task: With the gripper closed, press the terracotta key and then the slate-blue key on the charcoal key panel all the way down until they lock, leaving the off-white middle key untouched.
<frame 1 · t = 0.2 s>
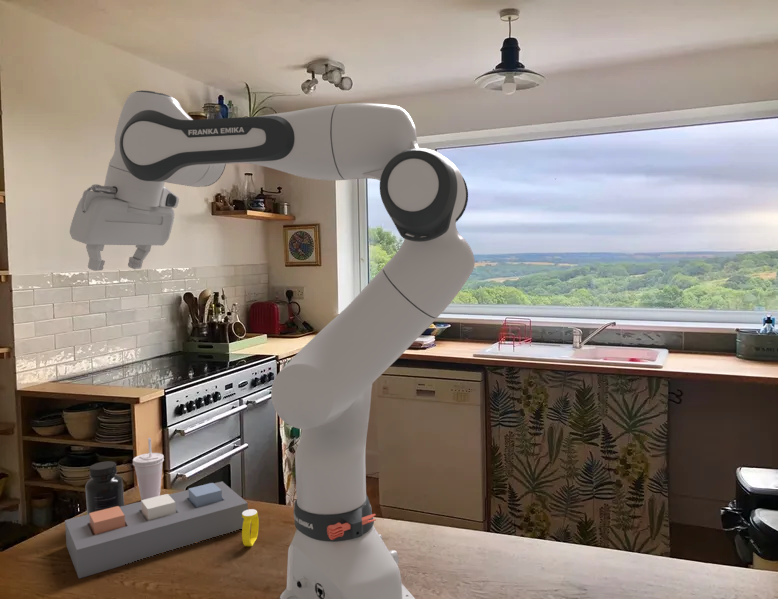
hand: (115, 268, 102), 52 cm above the countertop, tool tilted 20°, fingers open, 8 cm apart
key panel: (160, 536, 115), on the countertop
smoothie: (150, 501, 132), on the countertop
slate blue key: (205, 500, 119), point 5 cm above the countertop, slide at 0.0 cm
terracotta key: (107, 525, 109), point 5 cm above the countertop, slide at 0.0 cm
white key: (158, 512, 114), point 5 cm above the countertop, slide at 0.0 cm
supplement bottle: (106, 523, 121), on the countertop
watch: (251, 543, 112), on the countertop
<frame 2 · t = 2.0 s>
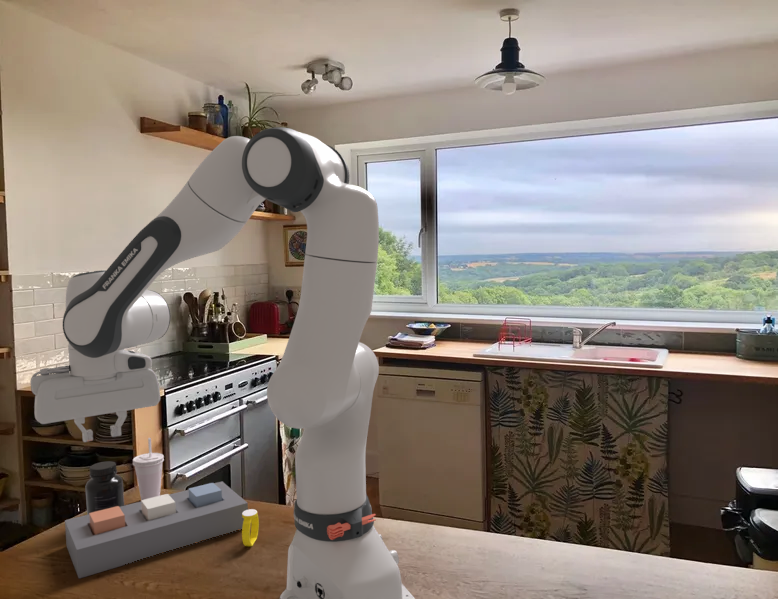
hand: (102, 438, 108), 21 cm above the countertop, tool pointing down, fingers open, 3 cm apart
nothing on the countertop moved.
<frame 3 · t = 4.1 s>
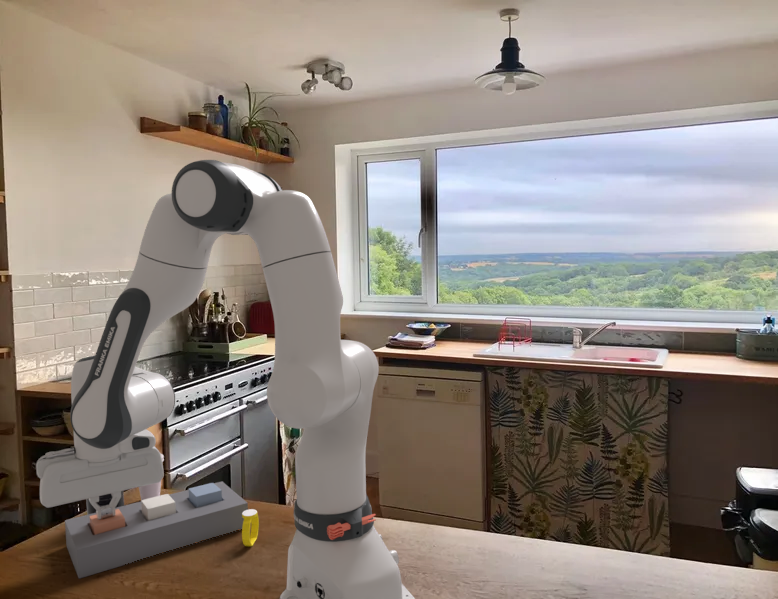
hand: (106, 516, 109), 6 cm above the countertop, tool pointing down, fingers closed, pressing on terracotta key
terracotta key: (107, 528, 109), point 4 cm above the countertop, slide at 0.6 cm, touching gripper
everything else where it was.
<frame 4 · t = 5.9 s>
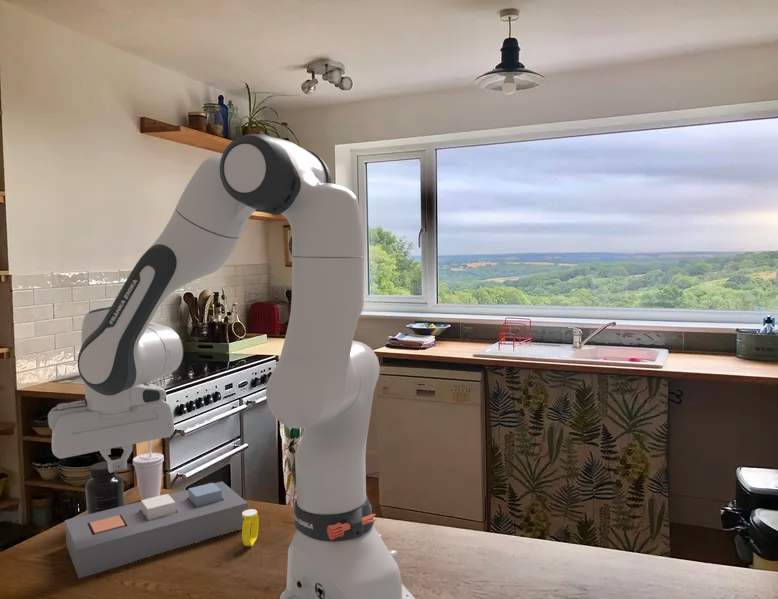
hand: (117, 470, 109), 15 cm above the countertop, tool pointing down, fingers closed
terracotta key: (108, 535, 109), point 3 cm above the countertop, slide at 1.8 cm
everything else where it was.
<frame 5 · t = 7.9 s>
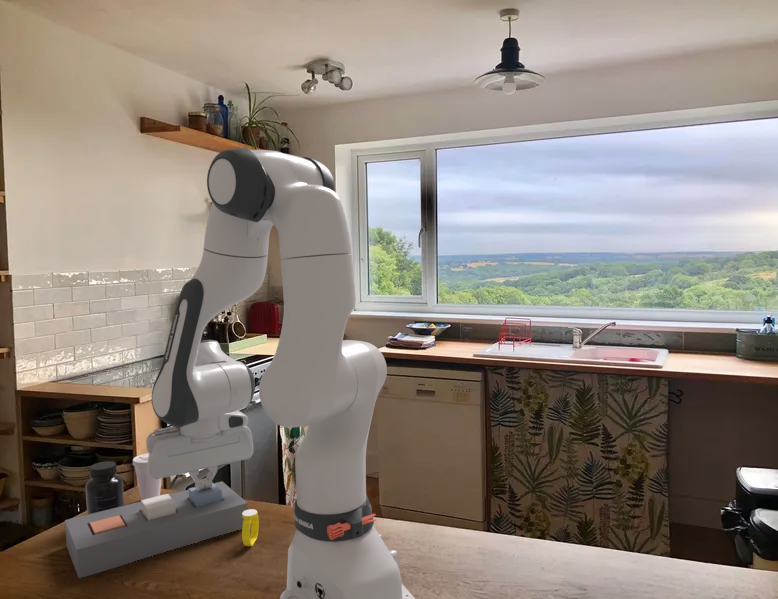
hand: (203, 489, 119), 7 cm above the countertop, tool pointing down, fingers closed, pressing on slate blue key
slate blue key: (205, 500, 119), point 5 cm above the countertop, slide at 0.0 cm, touching gripper
everything else where it was.
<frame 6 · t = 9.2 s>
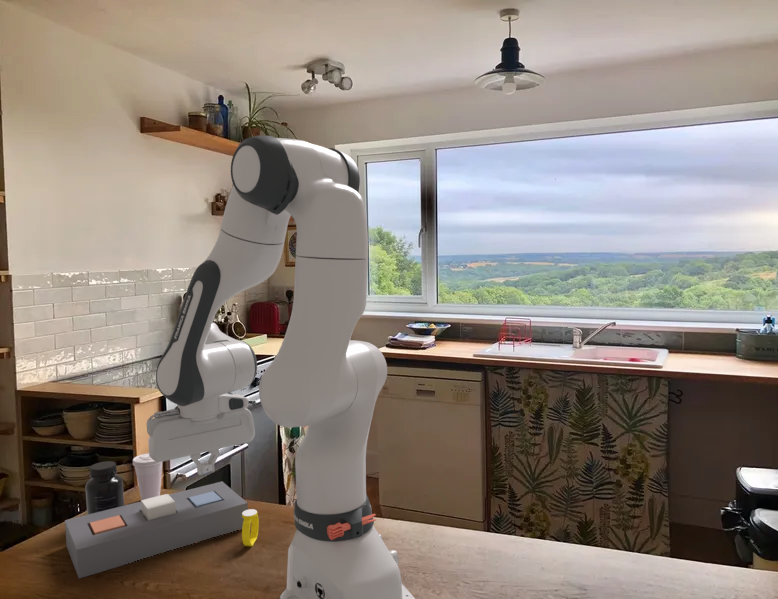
hand: (206, 473, 119), 11 cm above the countertop, tool pointing down, fingers closed
slate blue key: (205, 509, 120), point 3 cm above the countertop, slide at 1.8 cm
everything else where it was.
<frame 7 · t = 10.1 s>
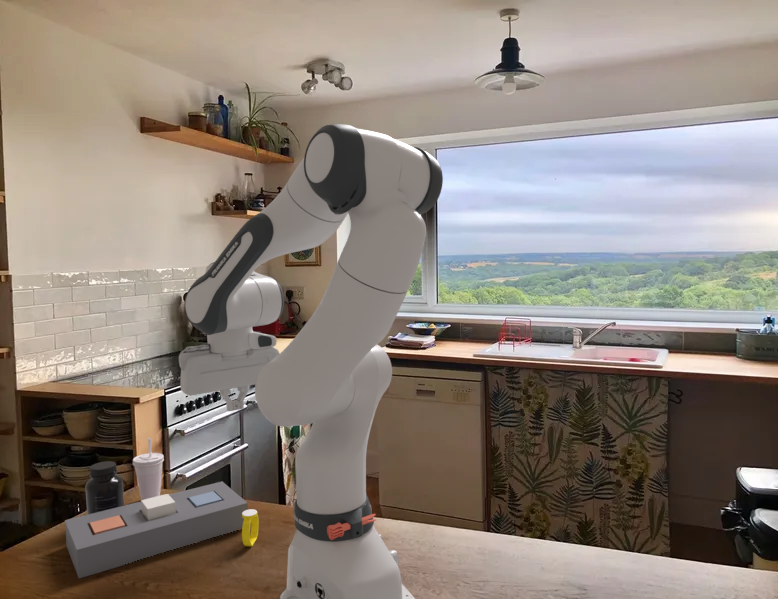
hand: (235, 409, 120), 22 cm above the countertop, tool pointing down, fingers closed
nothing on the countertop moved.
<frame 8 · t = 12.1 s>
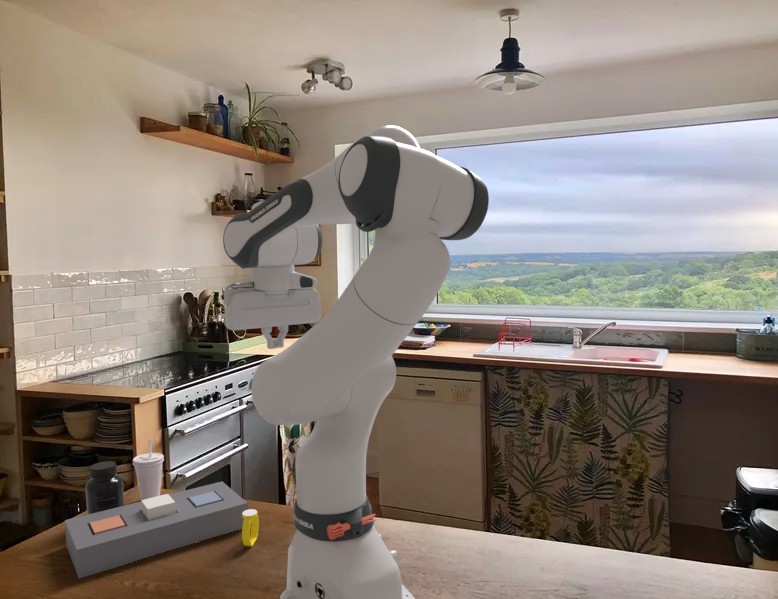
hand: (275, 348, 123), 34 cm above the countertop, tool pointing down, fingers closed
nothing on the countertop moved.
at the end: terracotta key slide at 1.8 cm; slate blue key slide at 1.8 cm; white key slide at 0.0 cm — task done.
